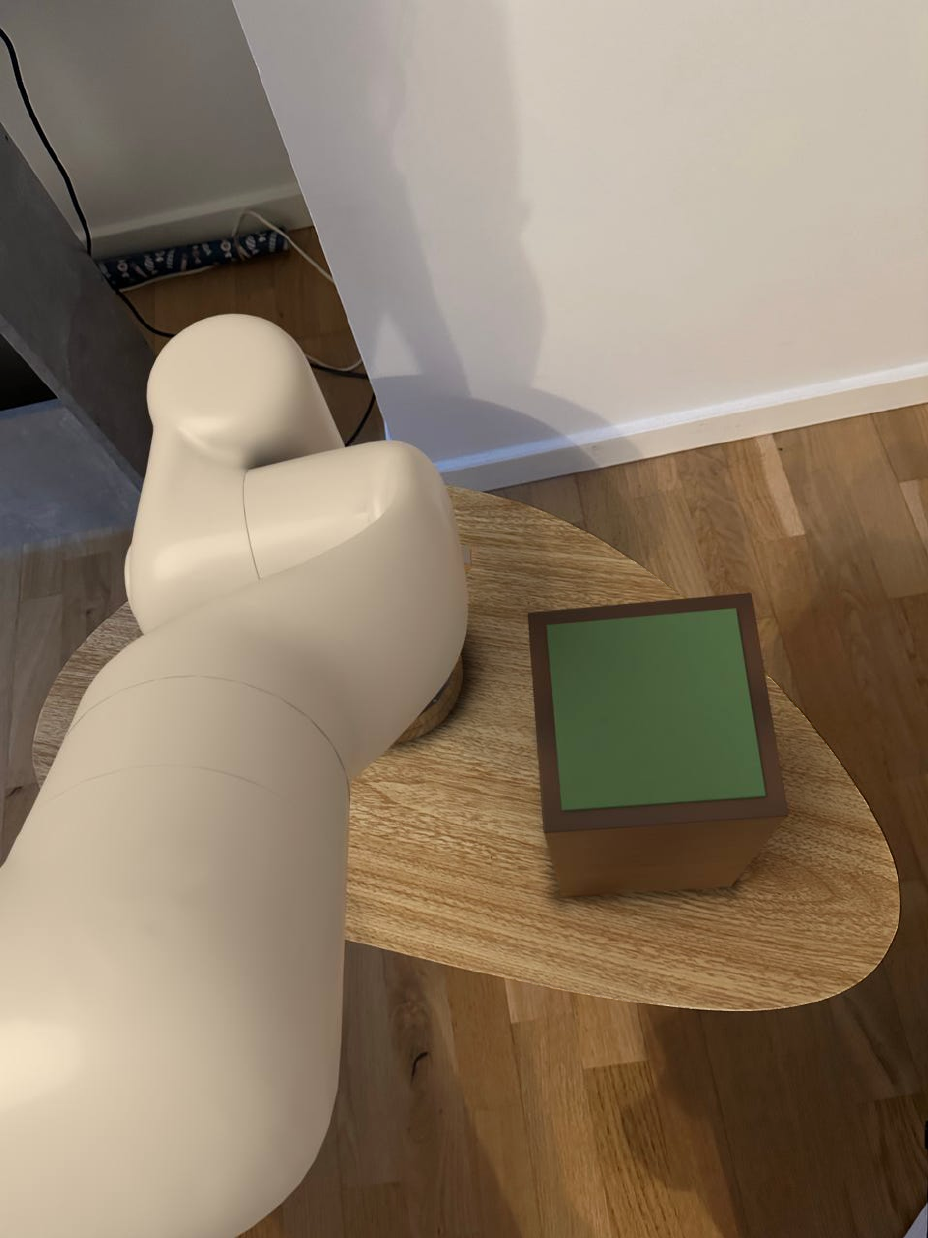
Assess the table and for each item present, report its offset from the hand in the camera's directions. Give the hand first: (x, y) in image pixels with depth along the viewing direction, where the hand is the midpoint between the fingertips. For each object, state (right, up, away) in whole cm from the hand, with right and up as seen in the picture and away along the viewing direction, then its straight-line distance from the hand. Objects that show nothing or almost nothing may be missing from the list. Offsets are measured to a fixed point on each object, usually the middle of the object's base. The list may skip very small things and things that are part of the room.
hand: (361, 617), depth 72 cm
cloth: (+17, -5, -19) cm, 25 cm away
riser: (+20, -14, +4) cm, 25 cm away
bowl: (+1, -5, +11) cm, 12 cm away
